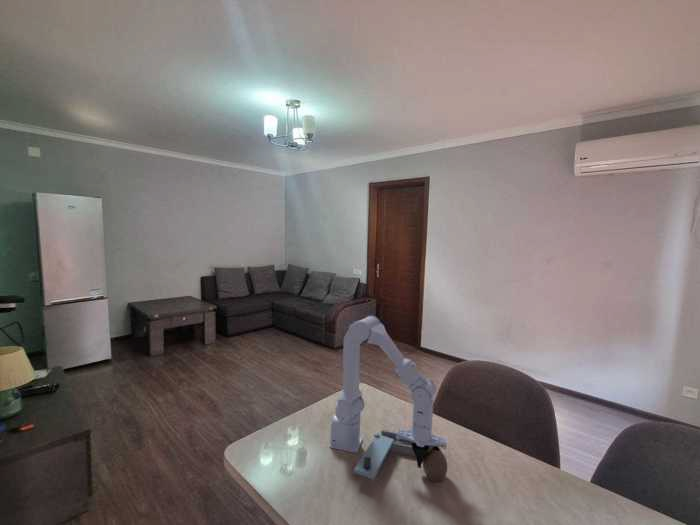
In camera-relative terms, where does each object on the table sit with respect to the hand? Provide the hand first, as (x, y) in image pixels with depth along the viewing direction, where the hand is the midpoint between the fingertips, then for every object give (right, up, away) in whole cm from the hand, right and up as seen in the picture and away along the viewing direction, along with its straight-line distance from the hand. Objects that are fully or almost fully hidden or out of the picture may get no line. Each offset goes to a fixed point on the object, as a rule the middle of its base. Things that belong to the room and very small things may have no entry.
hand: (419, 465), depth 94 cm
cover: (-13, +1, +2) cm, 14 cm away
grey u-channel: (-2, -1, +11) cm, 11 cm away
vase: (+4, -3, -1) cm, 5 cm away
